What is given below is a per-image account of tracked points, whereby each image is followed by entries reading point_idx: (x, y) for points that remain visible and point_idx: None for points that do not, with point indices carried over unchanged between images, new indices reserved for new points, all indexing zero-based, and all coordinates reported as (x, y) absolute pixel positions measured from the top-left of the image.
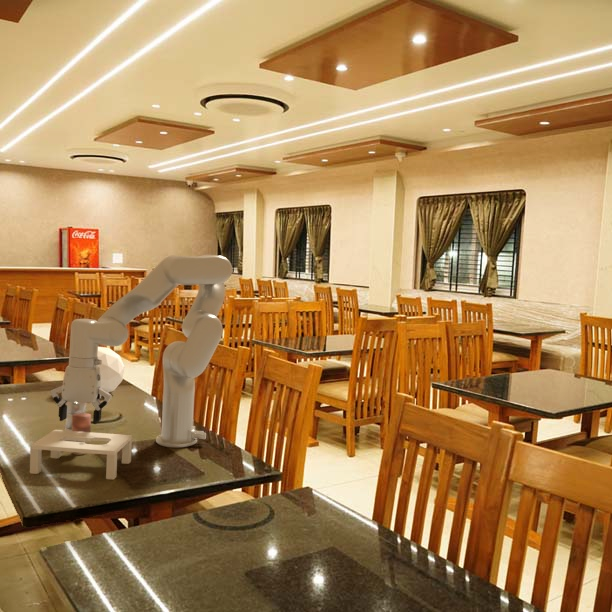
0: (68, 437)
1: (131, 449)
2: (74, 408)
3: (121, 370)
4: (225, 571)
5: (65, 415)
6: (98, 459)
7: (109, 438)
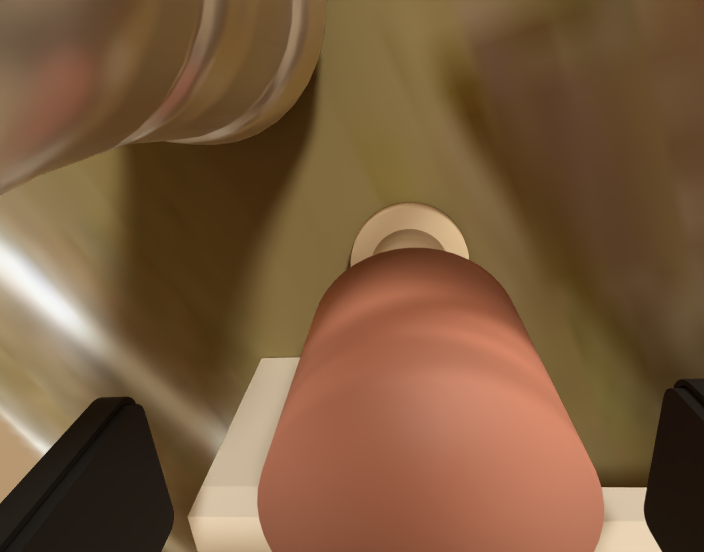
0: None
1: None
2: (9, 190)
3: None
4: None
5: (122, 474)
6: (598, 355)
7: None
